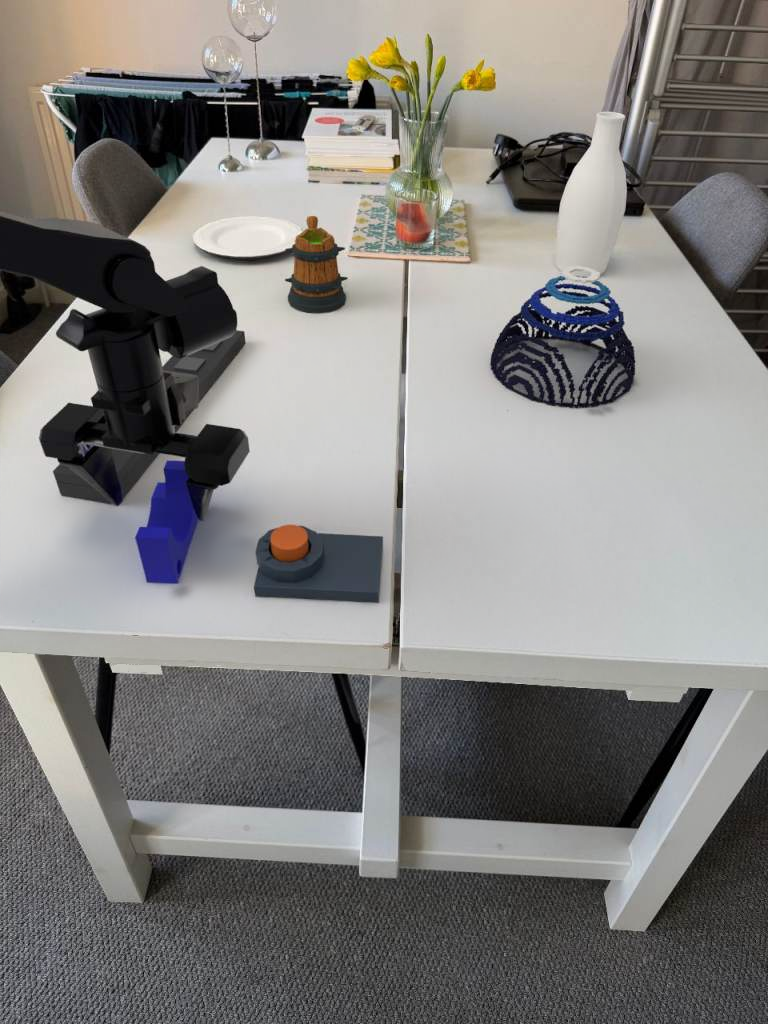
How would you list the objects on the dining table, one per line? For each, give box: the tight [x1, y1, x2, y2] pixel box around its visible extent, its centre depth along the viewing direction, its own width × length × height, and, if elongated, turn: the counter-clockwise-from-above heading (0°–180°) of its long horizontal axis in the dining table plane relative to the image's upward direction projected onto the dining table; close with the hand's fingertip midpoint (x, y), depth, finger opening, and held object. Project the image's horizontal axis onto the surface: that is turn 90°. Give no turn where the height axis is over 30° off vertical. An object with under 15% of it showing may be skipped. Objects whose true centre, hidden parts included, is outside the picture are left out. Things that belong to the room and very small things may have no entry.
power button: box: [270, 524, 308, 562], centre depth 71 cm, size 4×4×2 cm
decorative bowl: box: [489, 265, 637, 409], centre depth 101 cm, size 20×20×14 cm
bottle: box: [554, 111, 628, 277], centre depth 126 cm, size 11×11×25 cm
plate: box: [192, 215, 304, 260], centre depth 139 cm, size 21×21×2 cm
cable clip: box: [134, 460, 199, 584], centre depth 74 cm, size 12×4×6 cm, turn 179°
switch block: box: [253, 525, 384, 603], centre depth 73 cm, size 12×8×3 cm, turn 87°
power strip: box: [52, 329, 246, 505], centre depth 94 cm, size 39×7×3 cm, turn 167°
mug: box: [284, 215, 348, 314], centre depth 119 cm, size 13×10×12 cm
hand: (160, 510), depth 74 cm, fingers open, 9 cm apart
